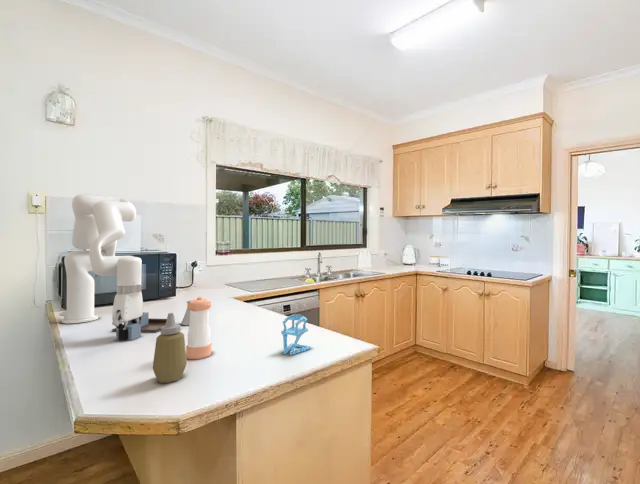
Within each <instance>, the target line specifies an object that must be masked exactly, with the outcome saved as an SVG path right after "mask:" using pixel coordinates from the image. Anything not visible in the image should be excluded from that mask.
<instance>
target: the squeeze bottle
mask: <svg viewBox="0 0 640 484" xmlns="http://www.w3.org/2000/svg"><path fill="white" fill-rule="evenodd" d="M166 319H167V321H166V324H165V326H163V327H161V330H160V334H159V335H158V336H157V337H156V339H155V345H154V352H153V354H154V355H153V362H152V371H153V373H154V375H155V379H156V382H157V383H160V384H161V383H163V384H164V383H165V384H166V383H171V382H175V381H178V380H180V379H181V378H182V377H183V375H184V373H185V369H186V367H187V365H188V360H187V359H188V358H187V357H186V341H185V334H184V332H181V324H177V323H176V318H175V315H174V312H169V313H167V317H166Z"/></svg>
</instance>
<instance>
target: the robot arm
mask: <svg viewBox="0 0 640 484" xmlns="http://www.w3.org/2000/svg"><path fill="white" fill-rule="evenodd" d="M71 208H72V211H73V215H74V224H73V231H72V238H71V244H72V246H73V247H74V248H75V249H77V250H73V251H70V252H68V253H67V254H66V255H64V259H63V263H64V267H65V268H64V269H65V274H66V310H63V311H61V312H59V314H58V316H60V317H63V318H62V319H61V323H62V324H67V325H69V324H82V323H87V322H92V321H96V320H98V319H99V315H98V314H95V291H96V290H95V288H96V287H95V285H96V283H95V279H94V278H93V276H92V275H91V274H90V273H89V272H93V274H95V276H98V277H111V276H113V277H114V276H116V294H115V295H114V299H113V303H112V304H113V305H112V314H111V317H112V318H111V320H112V322H111V324H112V325H113V326H114V327H115V328H116V327H117V330H119V333H118V340H117V341H129V340H128V329H127V324H128V321H129V320H130V322H131V324H140V320H141V318H142V317H143V315H144V313H143V312H144V300H143V294H142V276H143V275H142V273H143V271H142V270H143V269H142V265H143V264H142V263H143V261H142V258H141V257H138V256H134V255H116V252H117V251H116V250H117V245H118V240H121V239H123V238H124V236H125V235H126V230H125V227H124V226H125V225H124V223H123V222H129V223H130V222H133V221H134V220H136V217H137V209H136V207H135V205H134V204H133V203H132V202H131V201H128V200H127V199H125V198H123V197H120V196H108V195H100V194H99V195H98V194H88V193H87V194H85V193H84V194H82V193H81V194H76V195H75V196H74V197H73V198H72V202H71ZM78 249H79V250H78ZM123 324H124V325H123Z"/></svg>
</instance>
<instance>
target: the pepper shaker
mask: <svg viewBox="0 0 640 484" xmlns="http://www.w3.org/2000/svg"><path fill="white" fill-rule="evenodd" d="M189 301H190V300H189ZM187 307H188V309H189V310H190V325H188V331H187V345H185V349H186V359H188V360H199V359H205V358H207V357H210V356H212V343H211V327H210V322H209V321H210V317H209V315H210V311H209V310H210V309H211V307H212V302H211V300H210V299H207V298H203V297H202V296H198V297H196V298H194V299H192V301H190V302H189V303H188V305H186V308H187Z"/></svg>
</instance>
